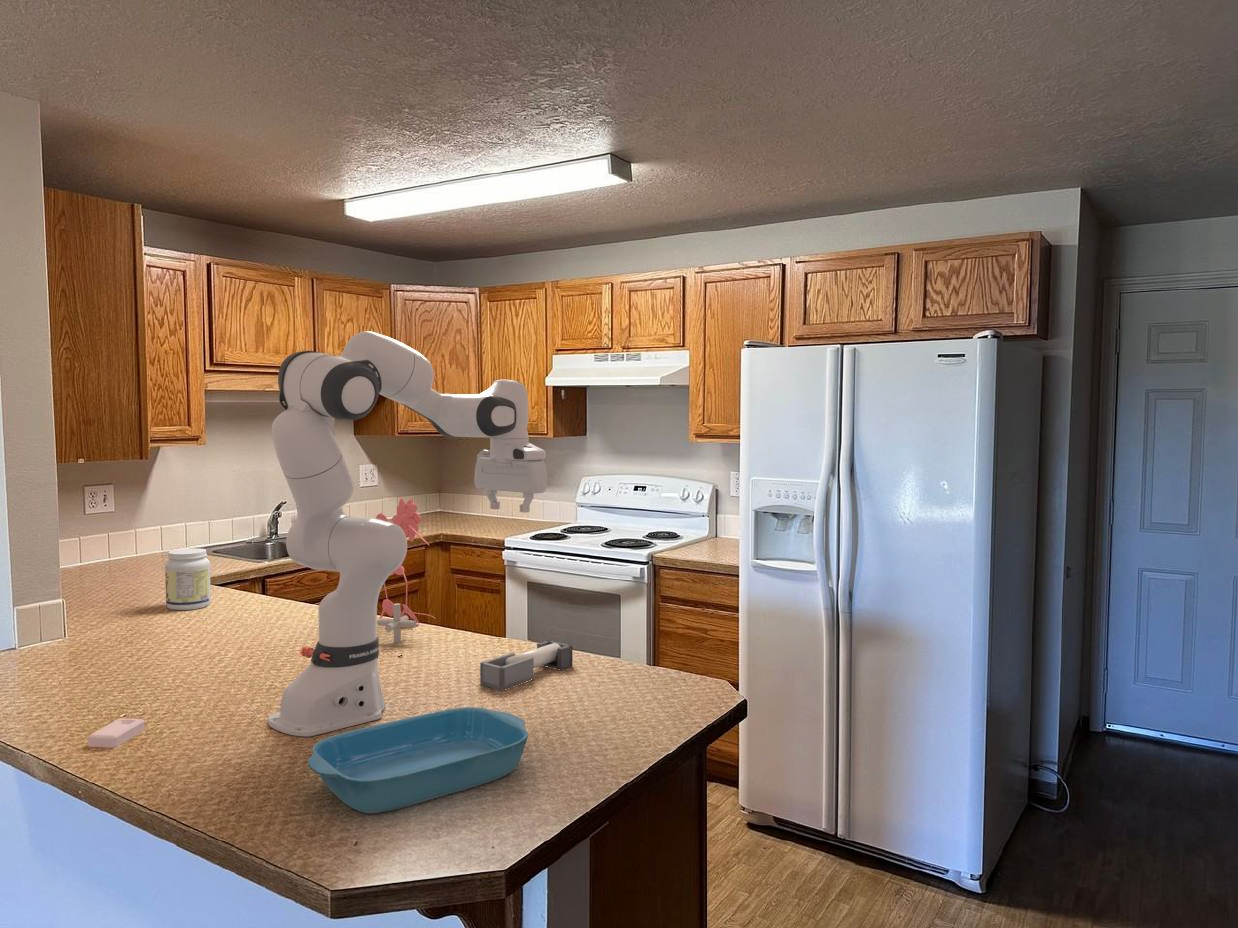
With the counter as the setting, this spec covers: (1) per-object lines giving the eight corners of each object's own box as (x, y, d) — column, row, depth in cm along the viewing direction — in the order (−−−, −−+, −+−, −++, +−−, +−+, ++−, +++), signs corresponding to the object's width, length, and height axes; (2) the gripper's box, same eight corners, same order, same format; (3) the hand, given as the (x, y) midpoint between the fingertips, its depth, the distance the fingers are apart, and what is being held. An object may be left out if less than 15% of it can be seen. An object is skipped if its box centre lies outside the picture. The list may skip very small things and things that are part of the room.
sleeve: (501, 691, 187) (501, 668, 187) (480, 685, 191) (480, 662, 191) (533, 679, 195) (533, 657, 195) (512, 674, 199) (512, 652, 199)
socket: (561, 670, 202) (561, 649, 202) (537, 664, 207) (537, 643, 206) (572, 666, 205) (572, 645, 205) (548, 660, 210) (548, 640, 209)
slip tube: (518, 676, 193) (518, 659, 193) (505, 673, 195) (504, 655, 195) (562, 661, 205) (562, 644, 205) (549, 658, 207) (549, 641, 207)
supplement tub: (170, 603, 267) (168, 548, 266) (213, 600, 271) (212, 546, 269) (162, 612, 255) (160, 555, 254) (207, 609, 259) (206, 553, 258)
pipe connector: (406, 648, 219) (406, 609, 218) (370, 646, 221) (369, 607, 220) (423, 638, 229) (423, 600, 228) (388, 636, 231) (387, 598, 230)
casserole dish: (485, 733, 164) (485, 696, 164) (554, 772, 147) (554, 730, 146) (287, 786, 141) (286, 743, 140) (340, 840, 123) (340, 791, 123)
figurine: (412, 633, 234) (413, 503, 232) (360, 617, 251) (361, 496, 249) (458, 624, 245) (460, 500, 243) (406, 609, 262) (407, 493, 261)
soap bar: (86, 748, 156) (86, 735, 156) (119, 729, 165) (118, 717, 165) (115, 749, 155) (114, 736, 155) (146, 730, 164) (146, 718, 164)
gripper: (467, 449, 204) (468, 508, 205) (532, 453, 192) (532, 515, 193) (487, 448, 209) (487, 506, 210) (551, 452, 197) (551, 512, 198)
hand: (509, 510), depth 201 cm, fingers open, 8 cm apart
